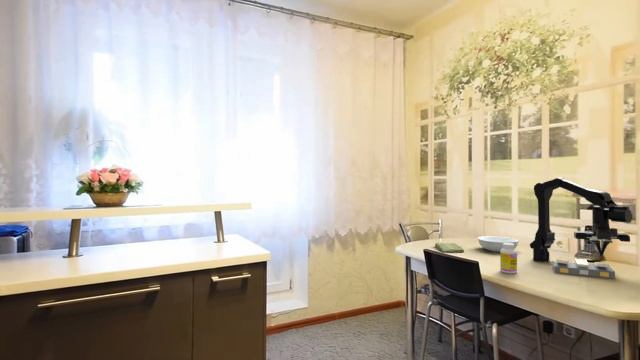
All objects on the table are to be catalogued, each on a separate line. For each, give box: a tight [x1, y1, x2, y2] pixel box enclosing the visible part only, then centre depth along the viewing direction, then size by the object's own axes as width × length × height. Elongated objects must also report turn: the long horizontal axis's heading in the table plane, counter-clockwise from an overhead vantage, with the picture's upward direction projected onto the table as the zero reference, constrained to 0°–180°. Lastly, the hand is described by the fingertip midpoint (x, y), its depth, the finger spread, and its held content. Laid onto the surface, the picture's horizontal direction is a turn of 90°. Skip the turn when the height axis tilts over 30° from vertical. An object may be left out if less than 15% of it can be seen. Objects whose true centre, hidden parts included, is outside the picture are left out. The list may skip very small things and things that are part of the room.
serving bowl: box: [477, 235, 519, 253], centre depth 202 cm, size 21×21×7 cm
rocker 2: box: [574, 258, 589, 267], centre depth 155 cm, size 4×6×1 cm, turn 151°
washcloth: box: [434, 242, 465, 253], centre depth 207 cm, size 13×18×3 cm
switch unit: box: [551, 260, 616, 280], centre depth 155 cm, size 21×10×3 cm, turn 61°
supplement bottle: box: [499, 243, 518, 275], centre depth 158 cm, size 7×7×13 cm
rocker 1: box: [556, 258, 570, 264], centre depth 158 cm, size 4×6×1 cm, turn 151°
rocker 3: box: [593, 261, 610, 267], centre depth 151 cm, size 4×6×1 cm, turn 151°
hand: (600, 255), depth 153 cm, fingers closed
